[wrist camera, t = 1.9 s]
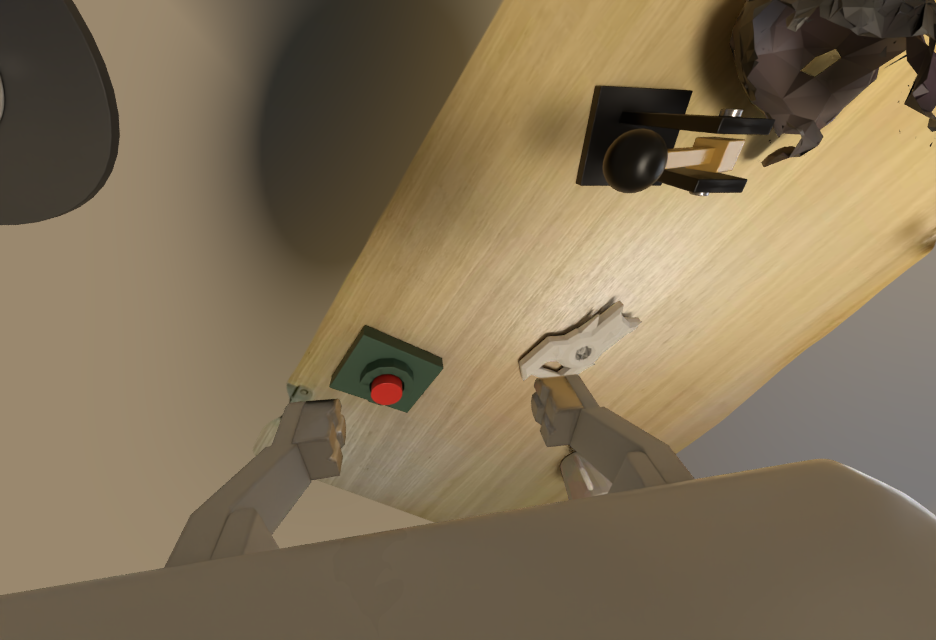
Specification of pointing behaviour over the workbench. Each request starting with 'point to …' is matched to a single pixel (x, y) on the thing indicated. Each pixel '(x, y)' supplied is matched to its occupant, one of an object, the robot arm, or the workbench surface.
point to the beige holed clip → (579, 344)
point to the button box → (385, 367)
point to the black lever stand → (666, 117)
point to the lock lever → (663, 158)
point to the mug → (582, 478)
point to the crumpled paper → (862, 53)
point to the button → (386, 389)
